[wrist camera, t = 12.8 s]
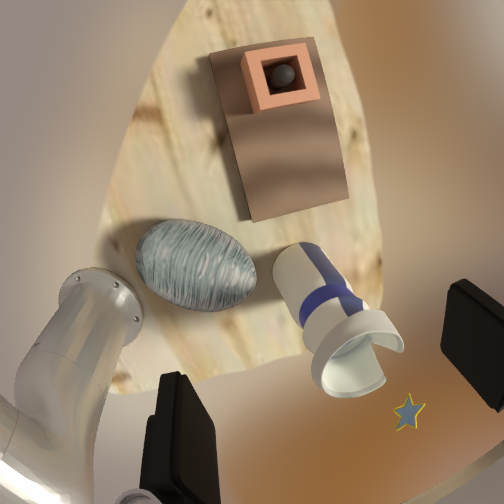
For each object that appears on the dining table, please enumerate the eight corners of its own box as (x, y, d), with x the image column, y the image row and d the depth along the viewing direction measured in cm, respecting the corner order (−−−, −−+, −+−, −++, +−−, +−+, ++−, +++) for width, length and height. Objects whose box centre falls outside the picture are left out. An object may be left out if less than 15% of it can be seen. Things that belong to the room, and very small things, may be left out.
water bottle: (340, 243, 39) (465, 367, 16) (321, 300, 42) (407, 444, 19) (281, 232, 38) (377, 374, 15) (264, 293, 40) (321, 459, 17)
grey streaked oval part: (118, 282, 34) (131, 295, 25) (144, 207, 35) (167, 194, 27) (215, 313, 41) (255, 331, 32) (236, 246, 42) (281, 247, 34)
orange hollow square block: (305, 103, 31) (320, 98, 26) (253, 114, 31) (260, 110, 26) (292, 54, 29) (305, 42, 24) (239, 63, 29) (244, 52, 24)
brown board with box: (344, 195, 37) (372, 210, 30) (251, 219, 37) (260, 240, 30) (309, 40, 29) (332, 20, 22) (209, 57, 29) (208, 37, 22)
